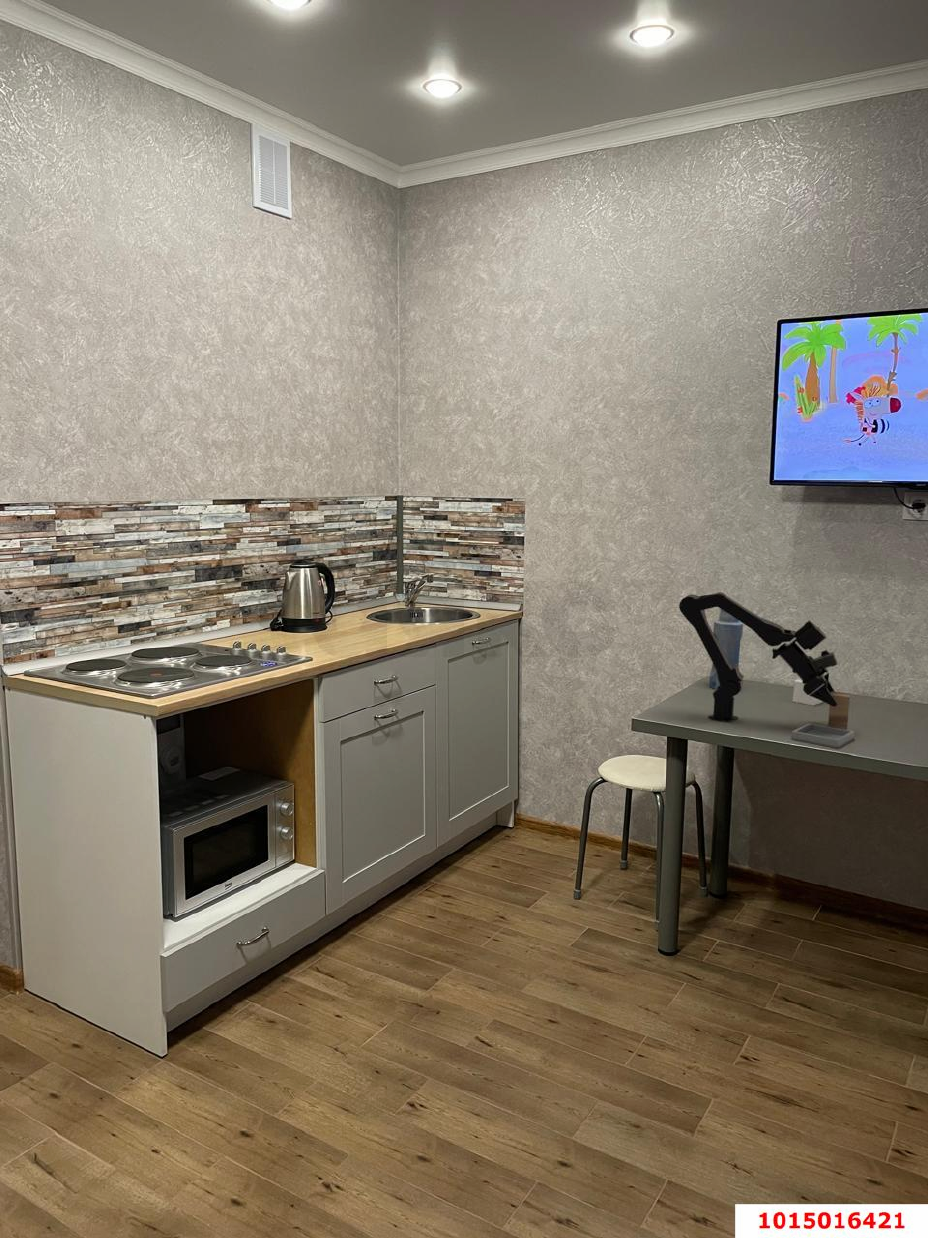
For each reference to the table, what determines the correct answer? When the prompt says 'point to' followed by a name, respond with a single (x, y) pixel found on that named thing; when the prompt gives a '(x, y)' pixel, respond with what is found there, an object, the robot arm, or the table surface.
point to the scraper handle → (839, 711)
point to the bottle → (727, 642)
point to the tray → (823, 735)
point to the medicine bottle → (803, 694)
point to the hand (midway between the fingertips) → (836, 702)
